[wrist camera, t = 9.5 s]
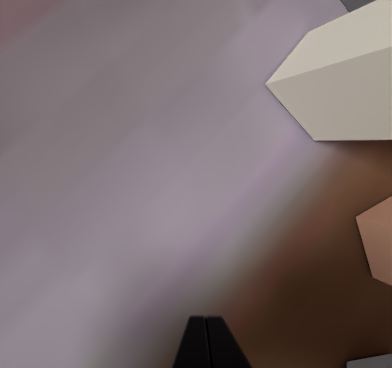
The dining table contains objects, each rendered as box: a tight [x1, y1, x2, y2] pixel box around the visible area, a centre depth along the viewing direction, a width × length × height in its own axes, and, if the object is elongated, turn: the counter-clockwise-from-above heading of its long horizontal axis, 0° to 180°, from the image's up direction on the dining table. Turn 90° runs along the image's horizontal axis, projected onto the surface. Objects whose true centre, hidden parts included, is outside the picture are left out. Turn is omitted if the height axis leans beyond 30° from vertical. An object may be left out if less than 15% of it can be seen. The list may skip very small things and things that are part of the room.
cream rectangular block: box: [265, 0, 392, 141], centre depth 16 cm, size 4×4×8 cm
